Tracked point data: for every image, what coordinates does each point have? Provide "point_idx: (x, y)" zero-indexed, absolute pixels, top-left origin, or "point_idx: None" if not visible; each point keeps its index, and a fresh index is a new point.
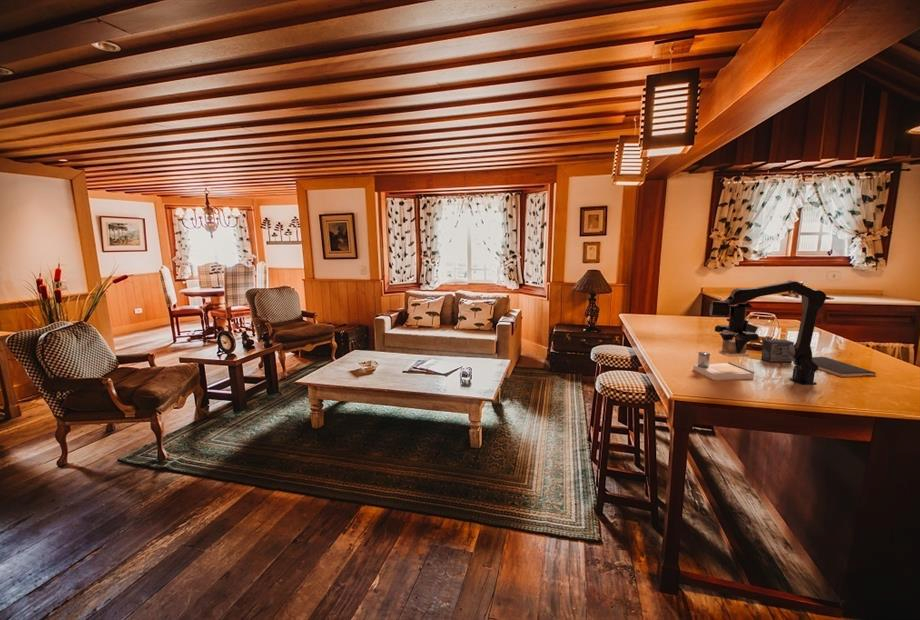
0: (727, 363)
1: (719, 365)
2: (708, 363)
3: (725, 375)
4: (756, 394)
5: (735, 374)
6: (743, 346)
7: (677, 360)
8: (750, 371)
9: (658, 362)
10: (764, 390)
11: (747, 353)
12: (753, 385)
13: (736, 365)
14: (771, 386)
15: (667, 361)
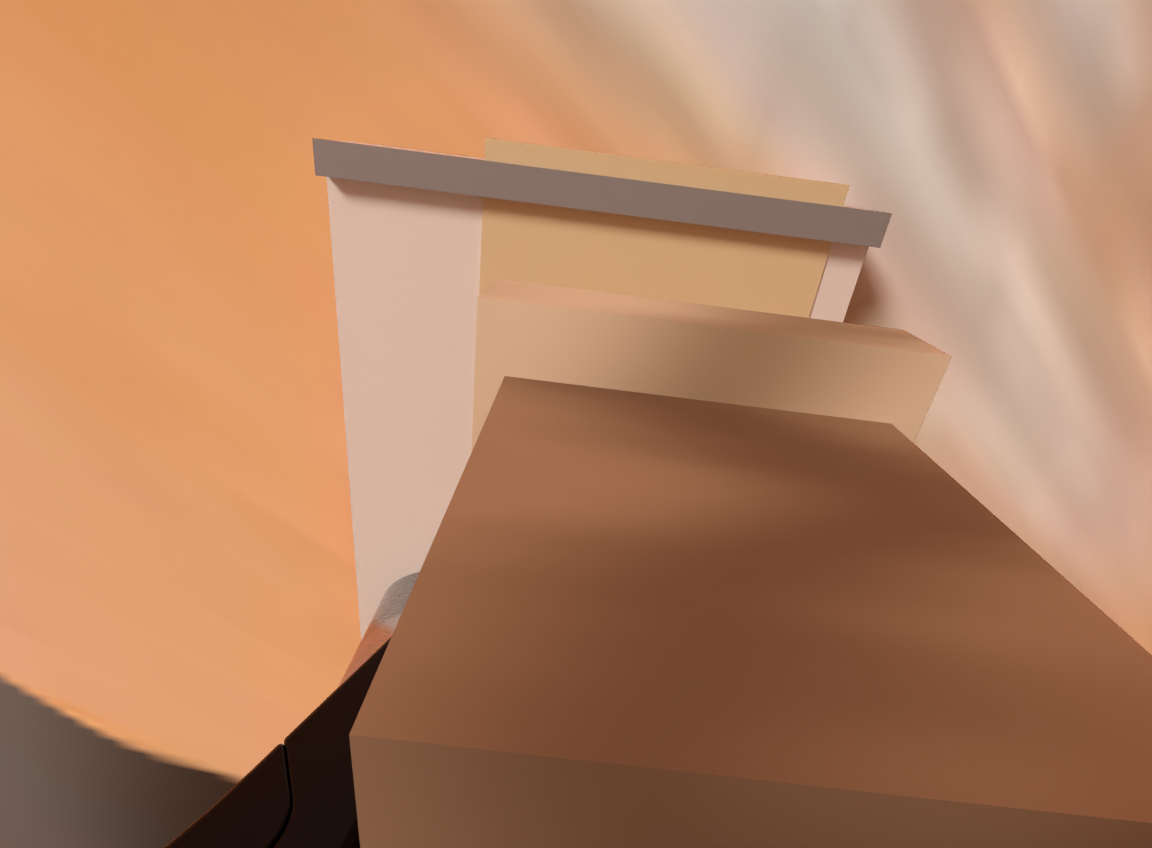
0: (336, 199)
1: (425, 410)
2: None
3: None
4: (1136, 601)
5: None
6: None
7: (33, 536)
8: (833, 240)
9: (142, 720)
10: (1143, 451)
11: (933, 391)
12: (990, 430)
13: (517, 200)
14: (1145, 250)
15: (94, 641)
